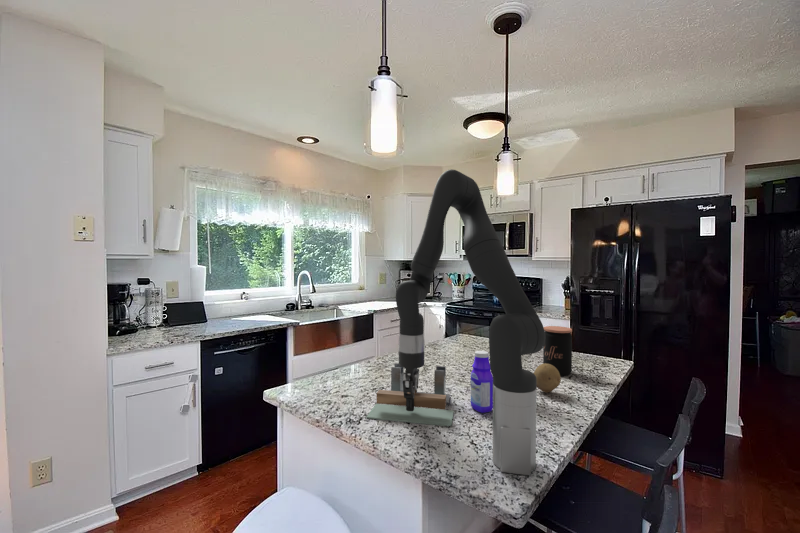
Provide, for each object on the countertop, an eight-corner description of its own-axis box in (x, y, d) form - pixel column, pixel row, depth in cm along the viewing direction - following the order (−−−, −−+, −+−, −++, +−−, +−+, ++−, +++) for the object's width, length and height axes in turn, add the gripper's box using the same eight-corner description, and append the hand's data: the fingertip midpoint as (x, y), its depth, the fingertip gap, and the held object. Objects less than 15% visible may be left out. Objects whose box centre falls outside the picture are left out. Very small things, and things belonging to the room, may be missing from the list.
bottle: (466, 406, 115) (467, 350, 114) (482, 403, 117) (483, 348, 116) (480, 415, 108) (480, 355, 108) (496, 412, 110) (497, 354, 110)
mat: (451, 426, 100) (451, 425, 100) (366, 418, 105) (366, 416, 105) (453, 412, 110) (453, 410, 110) (376, 404, 115) (376, 403, 115)
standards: (448, 405, 115) (448, 372, 115) (385, 400, 119) (386, 367, 119) (450, 397, 122) (450, 366, 122) (391, 392, 126) (391, 362, 126)
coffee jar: (537, 370, 152) (537, 327, 152) (556, 367, 157) (556, 325, 157) (558, 378, 143) (558, 331, 142) (577, 374, 147) (578, 329, 147)
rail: (445, 409, 104) (445, 398, 104) (376, 403, 108) (376, 393, 108) (446, 405, 107) (446, 395, 107) (379, 399, 111) (379, 389, 111)
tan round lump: (564, 398, 122) (565, 368, 122) (537, 397, 122) (537, 367, 122) (555, 388, 131) (555, 360, 131) (529, 388, 131) (529, 360, 131)
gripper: (420, 355, 100) (420, 419, 100) (427, 344, 113) (427, 400, 114) (393, 354, 101) (393, 417, 102) (403, 343, 115) (403, 398, 115)
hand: (411, 407), depth 108 cm, fingers closed on rail, 3 cm apart
